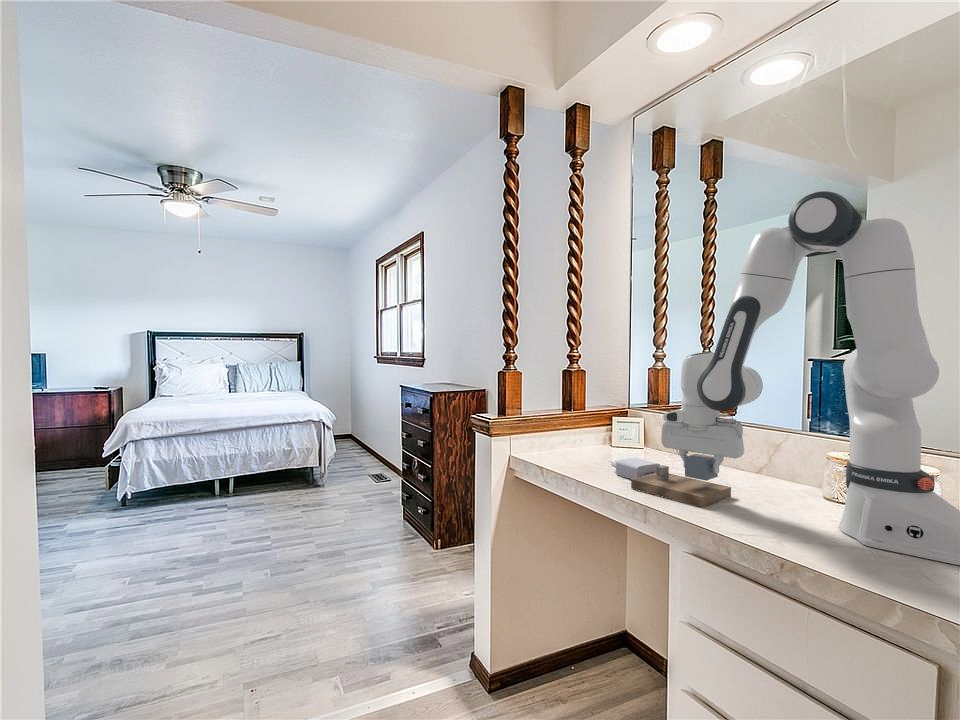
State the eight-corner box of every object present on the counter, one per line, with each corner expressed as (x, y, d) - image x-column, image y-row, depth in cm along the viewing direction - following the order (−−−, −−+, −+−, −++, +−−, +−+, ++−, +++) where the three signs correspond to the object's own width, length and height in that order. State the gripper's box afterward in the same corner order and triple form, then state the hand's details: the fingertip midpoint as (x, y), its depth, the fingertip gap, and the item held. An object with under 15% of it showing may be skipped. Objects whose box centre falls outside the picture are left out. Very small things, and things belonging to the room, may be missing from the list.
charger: (624, 468, 155) (660, 479, 141) (602, 471, 151) (637, 483, 137) (624, 453, 155) (661, 463, 141) (602, 456, 151) (637, 466, 137)
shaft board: (730, 496, 124) (731, 473, 124) (703, 507, 115) (703, 483, 115) (660, 480, 140) (660, 459, 139) (631, 488, 131) (631, 466, 131)
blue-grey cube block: (696, 472, 127) (696, 452, 127) (717, 476, 123) (717, 456, 123) (684, 476, 124) (684, 455, 124) (706, 480, 119) (705, 459, 119)
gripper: (748, 418, 117) (749, 475, 117) (670, 411, 133) (671, 461, 133) (736, 421, 113) (736, 480, 113) (657, 413, 129) (658, 465, 129)
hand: (701, 470), depth 123 cm, fingers closed on blue-grey cube block, 6 cm apart
